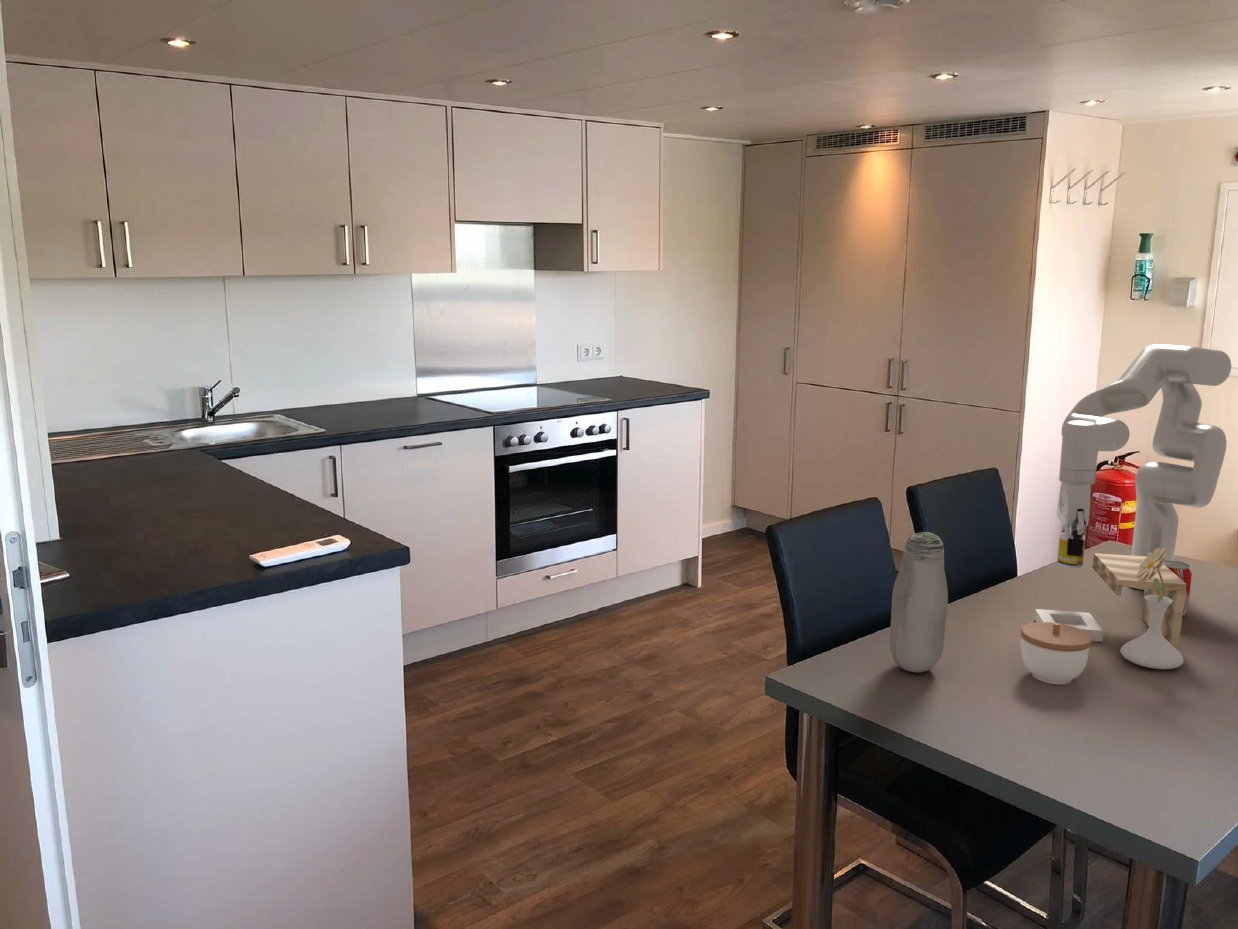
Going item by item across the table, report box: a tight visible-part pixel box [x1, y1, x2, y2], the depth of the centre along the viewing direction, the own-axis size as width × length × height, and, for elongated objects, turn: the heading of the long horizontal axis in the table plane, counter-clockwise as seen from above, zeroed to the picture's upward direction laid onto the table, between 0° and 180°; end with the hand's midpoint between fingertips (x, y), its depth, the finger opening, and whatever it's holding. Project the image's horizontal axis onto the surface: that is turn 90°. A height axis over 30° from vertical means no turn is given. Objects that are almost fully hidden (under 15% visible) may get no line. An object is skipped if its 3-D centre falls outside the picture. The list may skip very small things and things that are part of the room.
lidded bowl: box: [1020, 621, 1093, 685], centre depth 192 cm, size 13×13×11 cm
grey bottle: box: [889, 531, 949, 673], centre depth 193 cm, size 10×10×28 cm
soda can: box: [1164, 560, 1192, 616], centre depth 228 cm, size 7×7×12 cm
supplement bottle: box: [1056, 523, 1086, 569], centre depth 227 cm, size 5×5×10 cm
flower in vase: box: [1120, 548, 1185, 670], centre depth 197 cm, size 13×11×25 cm
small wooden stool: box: [1091, 553, 1186, 651], centre depth 216 cm, size 20×13×15 cm, turn 168°
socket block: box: [1034, 608, 1104, 643], centre depth 218 cm, size 12×12×2 cm
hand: (1071, 550), depth 228 cm, fingers closed on supplement bottle, 5 cm apart
